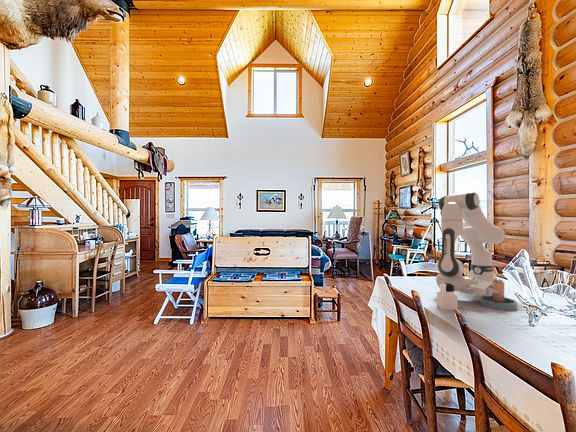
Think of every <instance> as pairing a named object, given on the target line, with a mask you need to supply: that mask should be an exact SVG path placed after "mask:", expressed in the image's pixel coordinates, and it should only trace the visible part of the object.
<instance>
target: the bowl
mask: <svg viewBox="0 0 576 432" xmlns="http://www.w3.org/2000/svg"><path fill="white" fill-rule="evenodd" d="M479 301H480V302H479V303H480V305H481V306H484V307H485V308H488V309H493V310H498V311H499V310H500V311H515V310H517V309H518V302H517V301H516V300H515V299H512V298H508V297H505V296H504V303H496V302H493V301H492V295H481V296H480V297H479Z"/></svg>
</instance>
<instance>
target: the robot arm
mask: <svg viewBox="0 0 576 432" xmlns="http://www.w3.org/2000/svg"><path fill="white" fill-rule="evenodd" d="M480 202H481V199H480V196H479V194H478V193H476V192H474V191H467V192H458V193H453V194H449V195H444V196H442V197H440V198H439V200H438V209H439V210H440V211H441V218H440V219H441V221H440V222H441V224H440V225H441V237H442V238H441V254H440V255H441V256H440V258H439V261H438V263H437V269H438V272H439V273H437V275H436V278H435V280H436V281H435V282H436V285H437V287H438V288H439V289H440V284H442V283H449V284H452V285H454V293H455V292H459V293H461V294H466V295H467V294H468V295H474V294H475V295H480V296H487V295H488V294H489V293H490V294H492V293H499V289H492V281H494V279H498V276H497V275H496V273H495V272H494V268H495V265H494V264H493V254H492V252H491V251H490V250H489V249H488V248H486V247H485V245H484V244H486V245H487V244H489V245H495V244H502V242H504V240H505V238H506V233H505V231H504V229H503V228H501V227H499V226H497V225H495V224H494V223H493V222H491V221H490V220H488V219H487V217H486V216H485V215H484V212H483V210H482V208H481V207H480V204H481V203H480ZM464 223H465V225H467V226H464ZM459 236H460V238H461V239H462V240H463V241H465V243H466V244H467V246H468V247H469V250H470V254H471V257H470V258H471V263H470V270H469V271H468V274H467V276H463V274H464V271H465V265H464V264H463V262H462V261H461V260H459V259H457V258H456V241H457V238H459Z"/></svg>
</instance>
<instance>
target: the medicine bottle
mask: <svg viewBox="0 0 576 432" xmlns="http://www.w3.org/2000/svg"><path fill="white" fill-rule="evenodd" d="M458 305H459V304H458V295H457V294H455V292H454V285H452V284H449V283H442V284H440V288H439V291H437V292H436V306H437V307H438V308H440V310H442V311H446V310H447V311H455V310H454V309H458Z"/></svg>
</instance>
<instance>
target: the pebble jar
mask: <svg viewBox="0 0 576 432" xmlns="http://www.w3.org/2000/svg"><path fill="white" fill-rule="evenodd" d="M492 289H499V293H491V296H492V301H493V302H496V303H504V297H505V281H504V280H503V279H502V278H497V279H494V281H492Z"/></svg>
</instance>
